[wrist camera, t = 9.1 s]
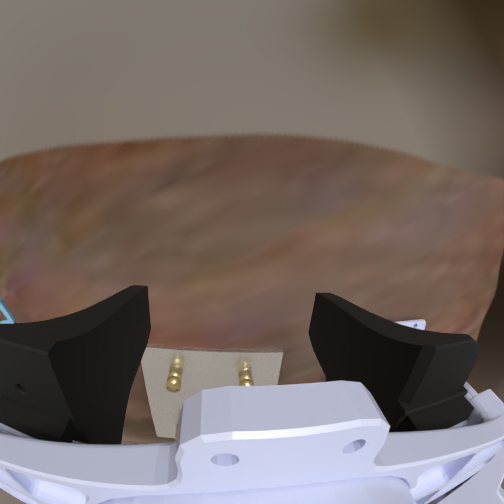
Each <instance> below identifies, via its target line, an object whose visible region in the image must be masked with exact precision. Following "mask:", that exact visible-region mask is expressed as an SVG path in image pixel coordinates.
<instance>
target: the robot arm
mask: <svg viewBox="0 0 504 504" xmlns="http://www.w3.org/2000/svg"><path fill="white" fill-rule="evenodd" d="M425 325H426V321H425V320H423V319H420V320H410V321H399V322H393V321H390V320H387V319H384V318H382V317H380V316H377V315H375V314H373V313H371V312H369V311H366V310H364V309H362V308H360V307H358V306H356V305H355V304H353V303H351V302H349V301H347V300H345V299H343V298H341V297H339V296H337V295H334V294H331V293H316V296H315V302H314V307H313V312H312V317H311V322H310V327H309V336H310V340H311V344H312V347H313V350H314V352H315V354H316V357H317V359H318V361H319V363H320V365H321V367H322V369H323V371H324V374H325V376H326V378H327V380H328V382H320V383H308V384H293V385H270V386H225V387H219V388H212V389H205V390H201V391H200V392H198V393H197V394H195V395H193V396H192V397H190V398H189V399H187V400H185V401H184V403H183V406H182V409H181V412H180V415H179V422H178V431H177V441H171V442H160V443H145V444H121V440H122V432H123V425H124V419H125V413H126V408H127V403H128V398H129V394H130V390H131V386H132V383H133V381H134V378H135V375H136V373H137V370H138V367H139V365H140V362H141V360H142V357H143V354H144V352H145V349H146V346H147V343H148V339H149V334H150V329H151V324H150V313H149V300H148V286H139V285H133V286H130V287H128V288H126V289H124V290H122V291H120V292H118V293H116V294H115V295H113V296H111V297H109V298H107V299H105V300H103V301H101V302H99V303H97V304H95V305H93V306H91V307H88V308H86V309H84V310H81V311H78V312H75V313H73V314H70V315H66V316H62V317H58V318H54V319H50V320H45V321H39V322H31V323H13V324H0V488H1V489H3V490H4V491H6V492H8V493H9V494H11V495H13V496H14V497H16V498H18V499H19V500H21V501H23V502H25V503H27V504H504V490H503V489H502V488H501V486H500V485H501V483H502V480H503V478H504V403H503V402H502V401H501V400H500V399H499V398H498V397H497V396H496V395H495V394H494V393H493V392H492V391H491V390H490V389H488V390H486V391H484V392H482V393H480V394H478V393H477V392H476V391H475V390H474V389H473V388H472V387H471V386H470V385H469V384H468V383H467V382H466V380H467V378H468V377H469V374H470V373H471V371H472V369H473V367H474V365H475V363H476V360H477V357H478V344H477V342H476V341H475V340H474V339H473V338H472V337H470V336H469V335H467V334H451V333H439V332H432V331H426V330H424V328H425Z"/></svg>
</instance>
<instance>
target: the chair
mask: <svg viewBox="0 0 504 504" xmlns="http://www.w3.org/2000/svg"><path fill="white" fill-rule="evenodd" d="M0 309H1V311H2V312H3V314H4V315H5V316H6V318H7V319H8V320H4V321H0V324H13V323H16V320H15V318H14V316H13V315H12V313H11V312H10V310H9V309H8V307H7V306H6V305H5V303H4V302H3V300H2V299H1V297H0Z"/></svg>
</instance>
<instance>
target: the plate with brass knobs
mask: <svg viewBox="0 0 504 504" xmlns="http://www.w3.org/2000/svg"><path fill="white" fill-rule="evenodd" d="M282 356H283V350H282V349H227V348H201V347H184V346H169V345H157V344H147V346H146V349H145V352H144V354H143V357H142V360H141V364H142V369H143V375H144V380H145V386H146V391H147V395H148V400H149V405H150V409H151V414H152V418H153V422H154V426H155V430H156V434H157V436H158V437H167V438H175V441H177V431H178V422H179V415H180V412H181V409H182V406H183V403H184V401H185V400H187V399H189V398H190V397H192V396H193V395H195V394H197V393H198V392H200V391H201V390H205V389H212V388H219V387H225V386H270V385H277V383H278V378H279V373H280V367H281V362H282Z"/></svg>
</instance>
